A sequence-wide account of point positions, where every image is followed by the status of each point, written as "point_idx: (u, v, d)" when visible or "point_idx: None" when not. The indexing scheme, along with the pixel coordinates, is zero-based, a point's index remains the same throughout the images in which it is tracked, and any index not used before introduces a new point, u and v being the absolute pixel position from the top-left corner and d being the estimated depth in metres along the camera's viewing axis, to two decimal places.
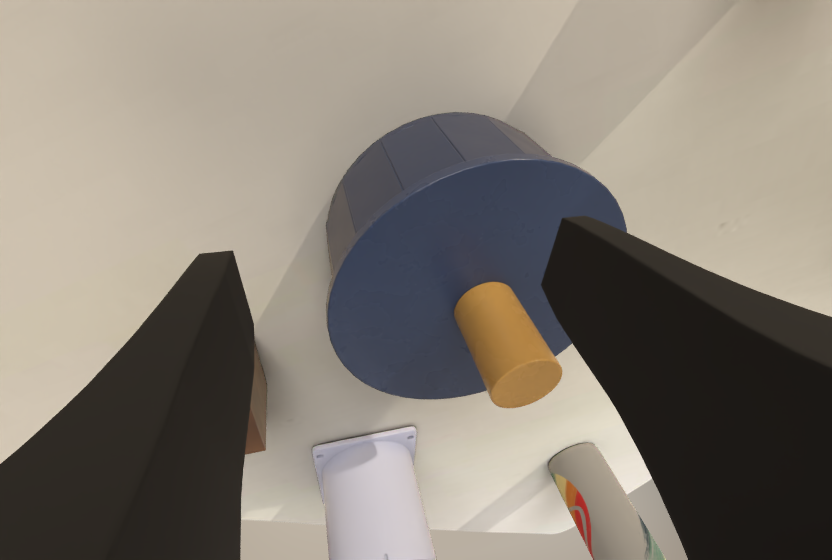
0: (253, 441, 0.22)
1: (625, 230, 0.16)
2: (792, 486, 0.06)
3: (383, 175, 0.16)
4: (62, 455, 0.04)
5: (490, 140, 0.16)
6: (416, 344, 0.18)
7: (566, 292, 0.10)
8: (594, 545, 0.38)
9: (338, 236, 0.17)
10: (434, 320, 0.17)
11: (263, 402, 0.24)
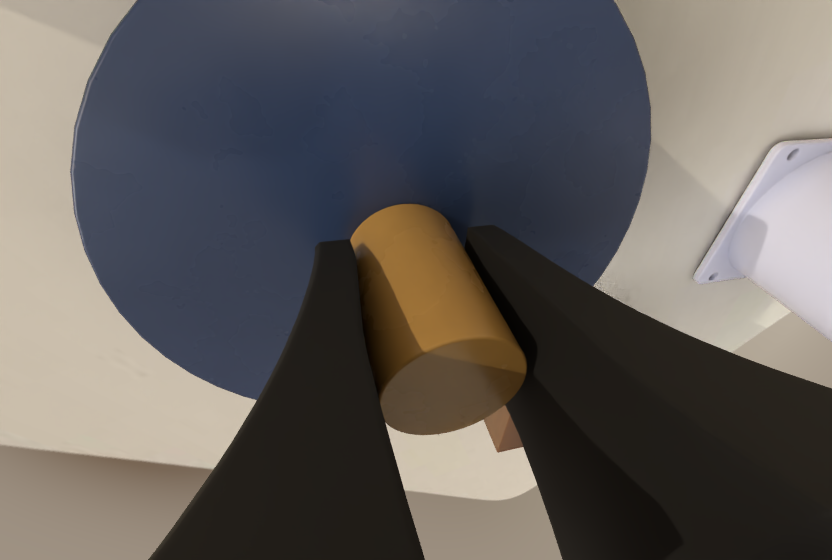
0: None
1: None
2: (645, 530, 0.05)
3: None
4: (302, 411, 0.04)
5: None
6: None
7: None
8: None
9: None
10: None
11: None
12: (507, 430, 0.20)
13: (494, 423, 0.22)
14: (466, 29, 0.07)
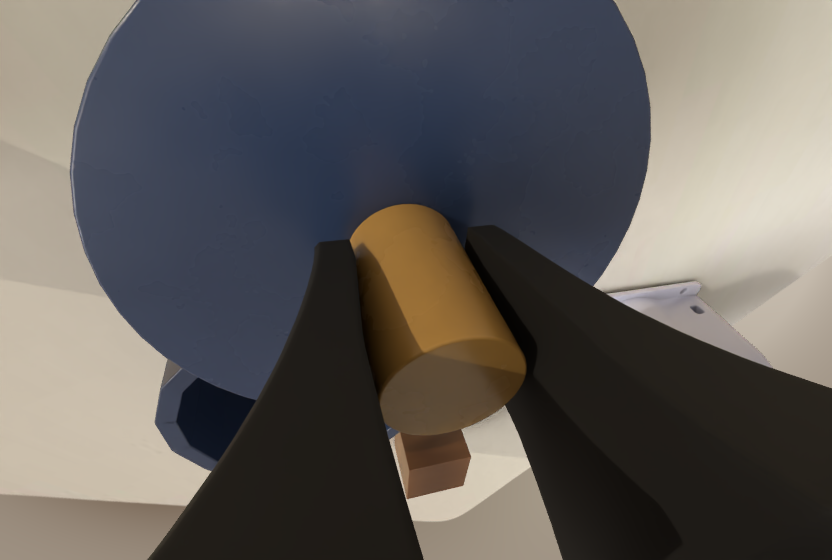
0: (455, 463, 0.29)
1: None
2: (646, 530, 0.05)
3: None
4: (301, 411, 0.04)
5: None
6: None
7: None
8: None
9: None
10: None
11: None
12: (409, 485, 0.29)
13: (404, 478, 0.31)
14: (466, 28, 0.07)
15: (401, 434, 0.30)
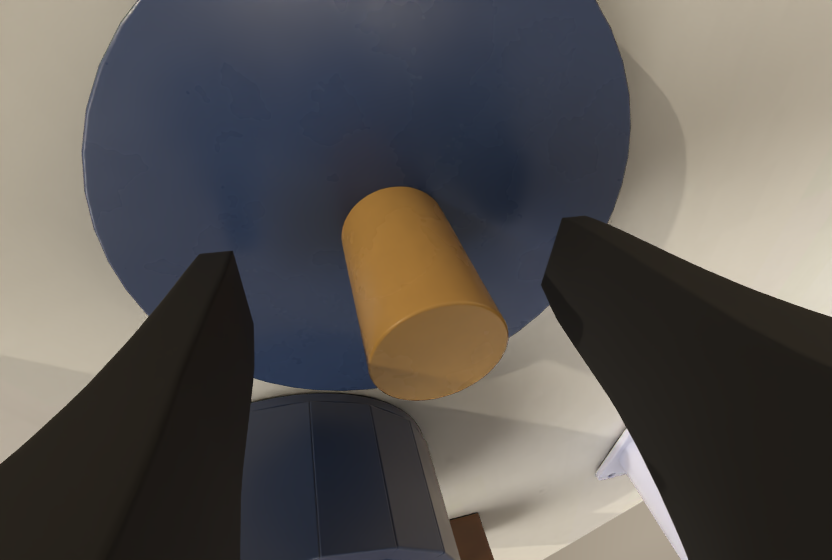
0: None
1: None
2: (792, 486, 0.06)
3: None
4: (62, 456, 0.04)
5: None
6: None
7: (566, 292, 0.10)
8: None
9: None
10: None
11: (475, 550, 0.26)
12: None
13: None
14: (453, 19, 0.08)
15: None
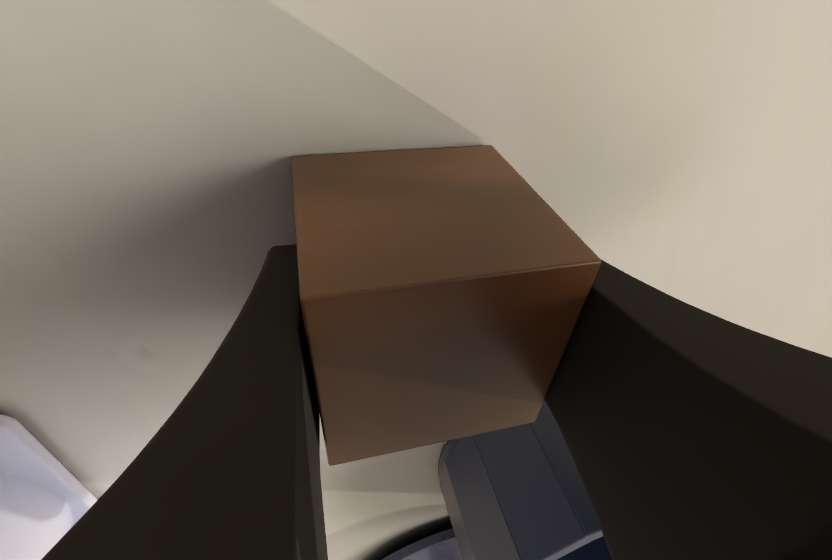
0: (385, 444, 0.08)
1: None
2: (705, 512, 0.05)
3: None
4: (211, 427, 0.04)
5: None
6: None
7: None
8: None
9: None
10: None
11: None
12: (558, 355, 0.08)
13: None
14: None
15: None
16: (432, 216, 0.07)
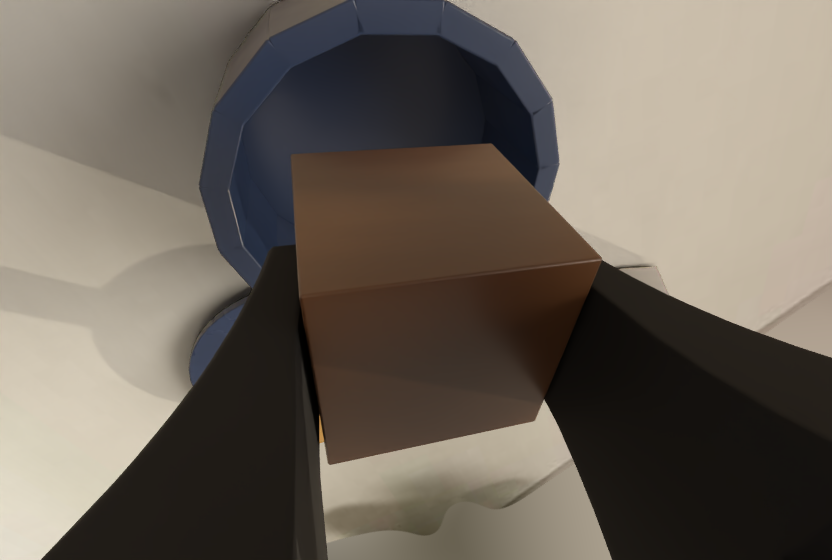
0: (385, 443, 0.08)
1: None
2: (705, 512, 0.05)
3: None
4: (211, 427, 0.04)
5: None
6: None
7: None
8: None
9: None
10: None
11: None
12: (558, 353, 0.08)
13: None
14: None
15: None
16: (432, 213, 0.07)
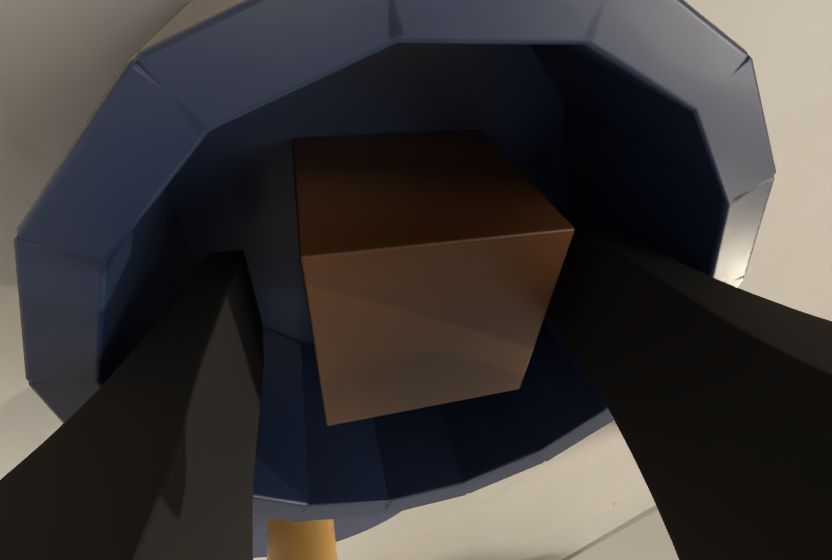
0: (379, 405, 0.09)
1: None
2: (782, 489, 0.05)
3: None
4: (84, 452, 0.04)
5: None
6: None
7: (560, 293, 0.10)
8: None
9: None
10: None
11: None
12: (538, 320, 0.08)
13: None
14: None
15: None
16: (421, 190, 0.08)
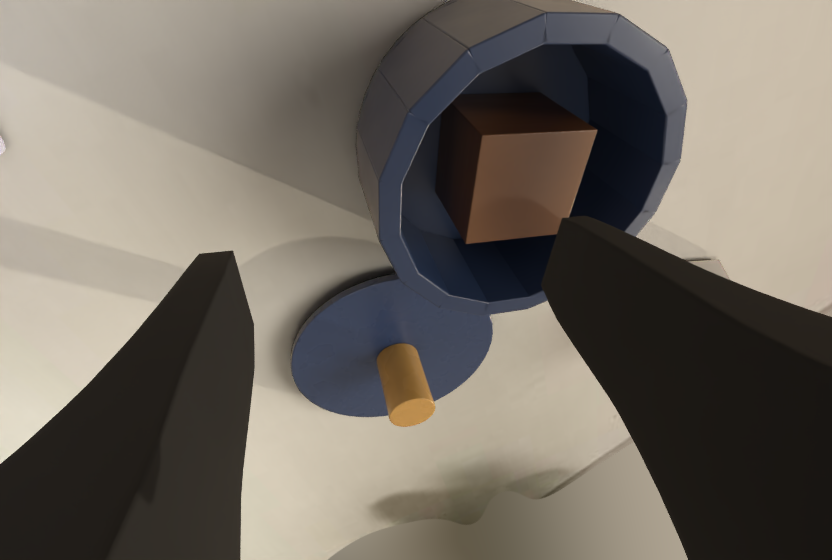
0: (493, 233, 0.17)
1: (437, 399, 0.30)
2: (792, 486, 0.06)
3: None
4: (62, 455, 0.04)
5: None
6: (368, 330, 0.24)
7: (566, 292, 0.10)
8: None
9: None
10: (390, 335, 0.25)
11: None
12: (577, 184, 0.16)
13: None
14: (381, 403, 0.29)
15: None
16: (521, 115, 0.16)
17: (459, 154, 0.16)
